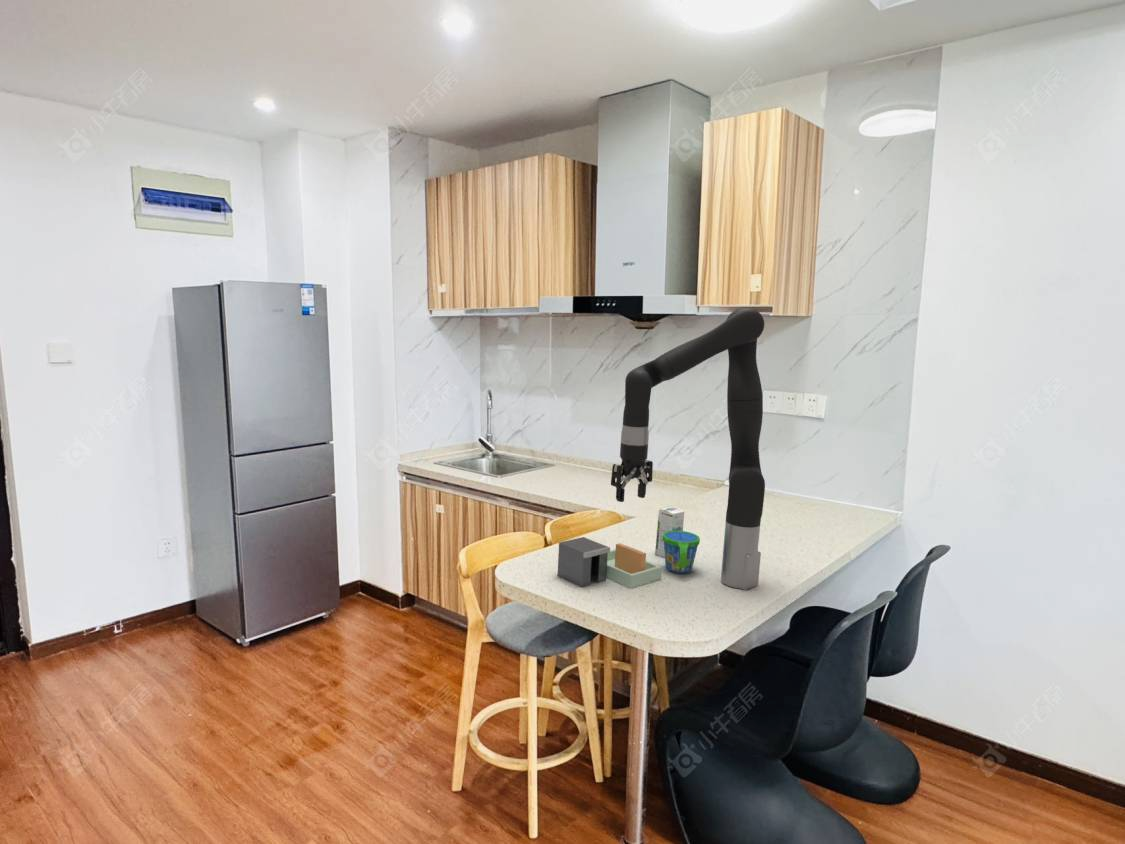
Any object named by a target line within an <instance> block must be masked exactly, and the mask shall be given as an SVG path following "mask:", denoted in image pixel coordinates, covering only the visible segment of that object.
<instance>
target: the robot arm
mask: <svg viewBox="0 0 1125 844" xmlns="http://www.w3.org/2000/svg"><path fill="white" fill-rule="evenodd" d="M764 330H765V320H764V316H763V315H762V314H761V313H760V312H759V311H758V310H756V309H755V308H751V307H741V308H738V309H735V310H733V311H732V312H730V314H729V315H728V316H727V318H726V320H725V321H724V322H722V323H721V324H720V325H718V326H717V327H714V328H713V329H711V330H710V331H708V332H706V333H704V334H702V335H700V336H698V337H696V338H693V339H691V340H689V341H686V342H684V343H682V344H680V345H677V346H676V347H674V348H672V349H670V350H668V351H666V352H664V353H662V354H661V355H659V356H657V357H656V358H655V359H653V360H651V361H648V362H646V363H644V364H641V365H639V366H638V367H635V368H633V369H632V370H630V371H629V372H627V375H626V376H625V381H624V382H625V385H624V386H625V389H624V408H623V413H622V414H623V417H622V428H621V433H620V434H621V435H620V449H619V457H620V459H621V464H616V463H613V464H612V469H611V478H610V485H611V486H612V487H615V489H616V490H615V491H616V492H615V500H616V501H617V502H620V503H623V502H625V490H626V489H625V487H626V486H627V485H628V483H629V482H630V481H631V480H634V479H637V482H638V484H637V497H638V498H640V499H643V498H645V497H646V494H647V485H648V483H651V482H653V474H654V473H653V472H654V471H653V469H654V467H653V466H654V463H653V461H652V460H648V453H649V452H648V451H649V441H650V440H649V437H650V432H649V431H650V430H649V427H650V426H649V423H650V422H649V421H650V403H651V393H652V388H654V387H656V386H657V385H659V384H660V385H661V383H663V382H666V381H670V380H673V379H674V378H676V377H678V376H680V375H682V374H684V373H686V372H688V371H689V370H691V369H693V368H695V367H696V366H698V365H700V364H702V363H704V362H705V361H707V360H709V359H710V358H713V357H714V356H717V355H718V354H721V353H723V352H726V351H727V352H728V353H727V354H728V372H727V390H726V391H727V392H726V393H727V394H726V399H727V400H726V402H727V403H726V406H727V408H726V409H727V412H726V413H727V420H728V421H727V422H728V423H727V424H728V430H729V432H728V433H729V437H730V443H731V444H730V445H731V448H730V449H731V450H730V452H731V453H730V465H729V466H730V467H729V473H728V497H727V506H726V507H727V508H726V513H725V523H724V534H723V535H724V538H723V547H722V549H723V550H722V559H721V572H720V582H721V584H723V585H725V586H727V587H731V588H734V589H741V590H744V591H746V590H749V589H752V588H755V587H757V586H758V585H759V579H760V567H761V558H762V557H761V555H762V553H761V551H759V542H760V531H761V522H762V516H763V511H764V510H763V509H764V500H765V492H766V491H765V490H766V488H765V487H766V481H765V478H764V476H763V474H762V473H763V472H762V468H761V459H760V451H759V450H760V445H759V444H760V437H761V432H762V427H763V426H762V425H763V416H764V415H763V414H764V413H763V412H764V406H763V400H764V399H763V397H764V396H763V388H762V382H761V376H760V373H759V367H758V364H757V362H758V361H757V344H758V338H760V337H761V335H762V333H763V332H764Z"/></svg>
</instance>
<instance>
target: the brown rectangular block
mask: <svg viewBox="0 0 1125 844" xmlns="http://www.w3.org/2000/svg"><path fill="white" fill-rule="evenodd" d="M615 549H616V553H615V567H617V568H619V569H621V570H624V571H626V572H628V573H631V574H633V573H637V572H640V571H644V570H645V562H646V561H647V553H646V552H644V551H641V550H638V549H636V548H633V547H630V546H628V545H625V544H623V543H621V542H619V543H616V544H615Z"/></svg>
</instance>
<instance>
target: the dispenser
mask: <svg viewBox="0 0 1125 844" xmlns="http://www.w3.org/2000/svg"><path fill="white" fill-rule="evenodd" d="M610 550H611V547H610V546H607V545H605V544H602V543H599V542H597V541H594V540H592V539H590V538H587V537H585V536H582V537H578V538H577V537H576V538H574V539H569V540H564V541H560V542H558V558H557V559H558V560H557V576H558V577H559V578H561V579H563V580H566V581H568V582H570V583H572V584H574V585H576V586H578V587H580V588H584V587H588V586H591V580H592V581H594V582H597V583H601V582H604V581H607V577H606V574H607V557H608V552H610Z"/></svg>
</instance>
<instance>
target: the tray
mask: <svg viewBox="0 0 1125 844" xmlns="http://www.w3.org/2000/svg"><path fill="white" fill-rule="evenodd" d="M615 553H616V548H614V549H610V552H608V557H607V574H606V579H609V580H612V581H613V582H616V583H618V584H620V585H622V586H624V587H627V588H629V589H634V588H638V587H640V586H644V585H647V584H650V583H652V582H657V581H658V580H662V570H663V567H662V566H661V565H658V564H656V563H653V562H651V561H647V560H646V562H645V570H644V571H640V572H637V573H633V574H631V573H628V572H626V571H624V570H621V569H619V568H617V567H615Z"/></svg>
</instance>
